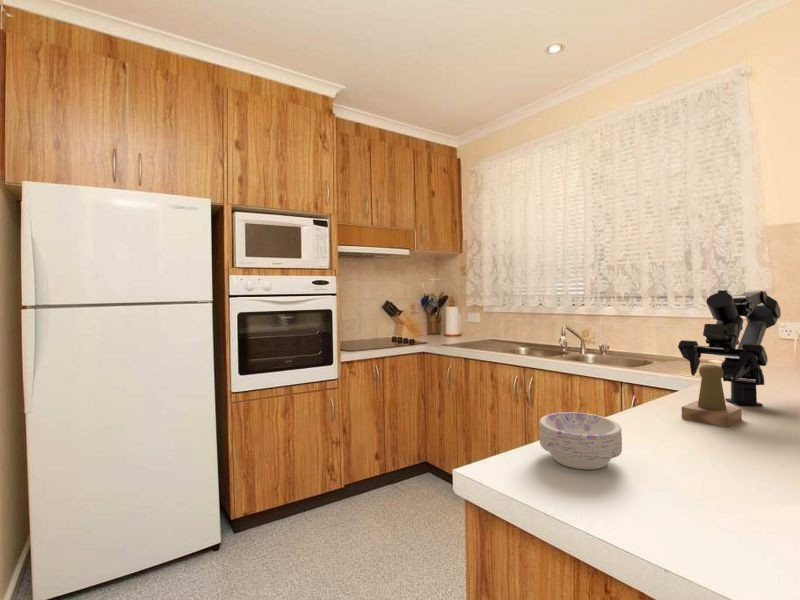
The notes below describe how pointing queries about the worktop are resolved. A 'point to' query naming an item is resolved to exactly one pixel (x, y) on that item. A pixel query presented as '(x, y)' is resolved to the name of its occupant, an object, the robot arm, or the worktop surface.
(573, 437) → the paper bowls
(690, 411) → the base block
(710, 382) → the cork
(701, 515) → the worktop surface
